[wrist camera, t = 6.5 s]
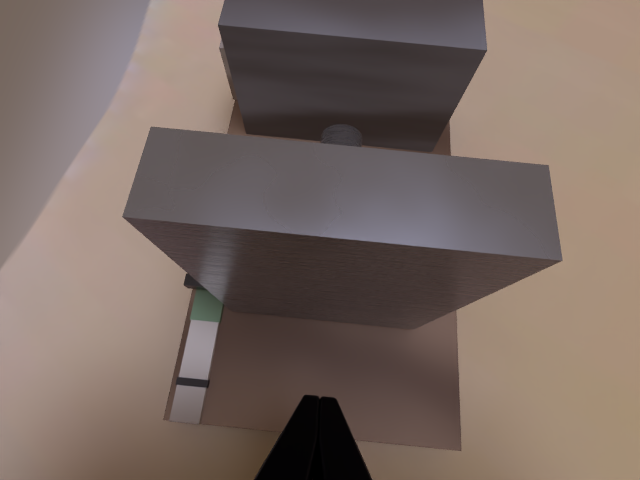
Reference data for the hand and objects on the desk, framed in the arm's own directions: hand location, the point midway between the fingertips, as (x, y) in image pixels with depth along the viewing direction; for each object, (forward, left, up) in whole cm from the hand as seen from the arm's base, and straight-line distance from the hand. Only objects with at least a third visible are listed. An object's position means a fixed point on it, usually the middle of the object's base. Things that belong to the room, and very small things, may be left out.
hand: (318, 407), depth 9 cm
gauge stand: (+6, +4, -8) cm, 11 cm away
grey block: (+5, +4, -6) cm, 9 cm away
